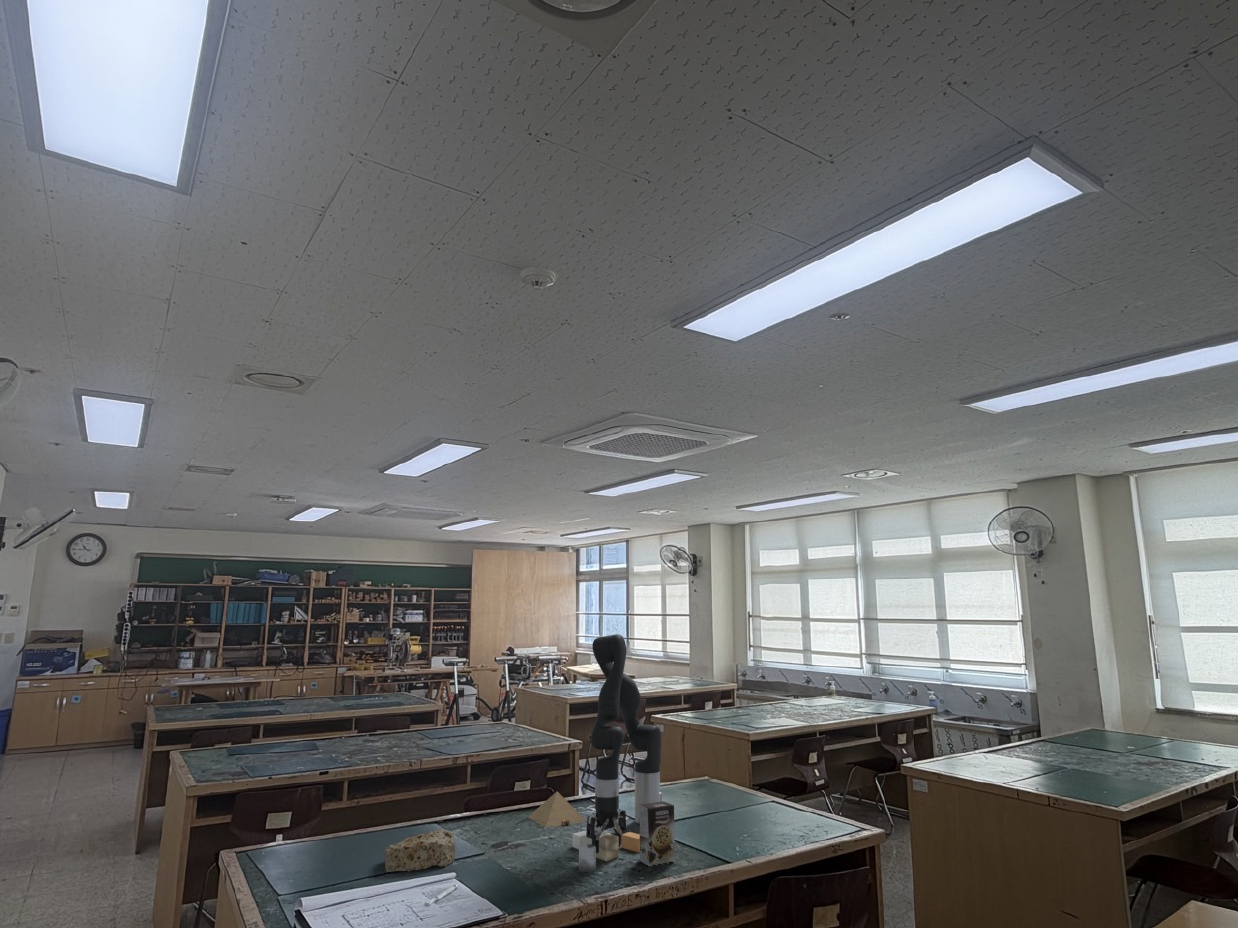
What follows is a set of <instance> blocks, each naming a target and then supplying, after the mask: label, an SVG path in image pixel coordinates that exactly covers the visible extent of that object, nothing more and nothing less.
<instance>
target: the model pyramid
mask: <svg viewBox="0 0 1238 928" xmlns="http://www.w3.org/2000/svg"><path fill="white" fill-rule="evenodd" d="M529 818H530V819H531V820H532V821H534V822H535V823H537V824H539V825H540V826H542V827H543V826H544V827H543V828H545V827H548V828H551V827H550V826H554V827H560V826H563V827H565V826H566V825H568V826H571V825H572V824H574V825H575V824H579V823H580V822H581V823H585V822H586V823H587V820H585V818H583V816H582V815H581V814H580V813H579V812H578V811H577V809H575V808H574V807H573V806H572V805H571V804H570V803H569V802H568V801H567V800H566V799H565V797H564V796H563V795H561V793H560V792H558V791H556V792H554V794H552V795H550V797H548V799H546V800H545V801H544V802H543V803H542V804H540V806H539V807H537V808H536V809H535V810H534V811H533V812H532V813H530V815H528V819H529Z"/></svg>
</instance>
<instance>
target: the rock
mask: <svg viewBox="0 0 1238 928" xmlns="http://www.w3.org/2000/svg"><path fill="white" fill-rule="evenodd" d="M455 853H456V841H455V835H454V833H453V832H452V831H450V830H445V829H443V828H441V829H435V830H434V831H433V830H429V832H427V833H425V834H424V833H419V834H416V835H415V836H411V837H407V838H405V839H403V840H402V841H400V842H397V843H396V844H389V846H388V847H387V848H385V852H384V855H385V856H384V864H385V865H384V868H385V869H384V870H385V871H386V870H387V871H408V872H412V871H419V870H426V869H428V868H431V867H433V866H436V867H437V866H438V867H443V866H445V867H447V866H448V865H447V864H450V863H452V862H453V863H454V862H455V859H456V854H455ZM453 863H452V864H453ZM450 865H451V864H450Z"/></svg>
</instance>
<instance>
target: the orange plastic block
mask: <svg viewBox="0 0 1238 928" xmlns="http://www.w3.org/2000/svg"><path fill="white" fill-rule="evenodd" d="M620 847H621V848H622V849H625V850H628V851H632V852H635V853H636V852H637V853H640V833H635V832H632V831H629V832H625V833H622V834H621V845H620Z"/></svg>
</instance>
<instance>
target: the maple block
mask: <svg viewBox="0 0 1238 928" xmlns="http://www.w3.org/2000/svg"><path fill="white" fill-rule="evenodd" d="M598 840H599V853H597V854H596V859H599V860H603V861H605V862H607V861H608V860H609V861H611V859H612V860H615V859H614V858H616V859H618V858H617V857H619V856H620V855H619V853H620V851H619V848H620V847H619V837H618V836H615V835H614V833H613V834H612V833H609V832H607V833H606V832H605V833H602V834H601V835H600V837H599V839H598ZM619 858H620V857H619Z"/></svg>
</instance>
